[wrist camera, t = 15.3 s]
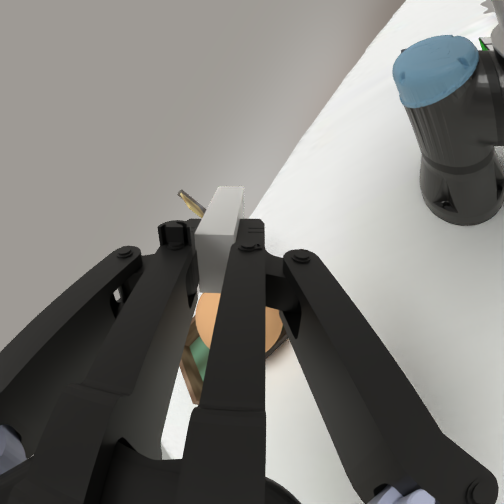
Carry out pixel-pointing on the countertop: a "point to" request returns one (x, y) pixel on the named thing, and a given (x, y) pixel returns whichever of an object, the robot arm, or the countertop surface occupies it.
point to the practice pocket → (194, 346)
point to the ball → (207, 318)
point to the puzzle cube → (486, 43)
